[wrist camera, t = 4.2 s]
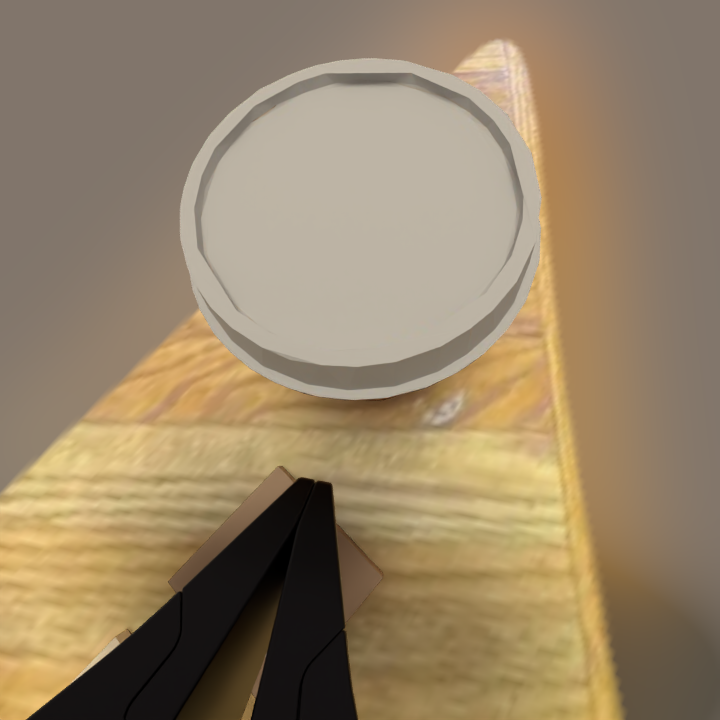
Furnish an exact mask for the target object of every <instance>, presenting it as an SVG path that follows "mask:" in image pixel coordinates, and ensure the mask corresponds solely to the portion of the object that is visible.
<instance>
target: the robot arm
mask: <svg viewBox="0 0 720 720" xmlns="http://www.w3.org/2000/svg"><path fill="white" fill-rule="evenodd" d="M345 628H346V625H345V614H344V603H343V593H342V582H341V571H340V560H339V550H338V539H337V528H336V517H335V506H334V496H333V486H332V484H331V483H329V482H324V481H316V482H315V480H313V479H308V478H303V477H300V478H298V479H297V480H296V481H295V482H294V483H293V484H292V485H291V486H290V487H288V488H287V489H286V490H285V491H284V492H283V493H282V494H281V495H280V496H279V497H278V498H277V499H276V500H275V501H274V502H273V503H272V504H271V505H269V506H268V507H267V508H266V509H265V510H264V511H263V512H262V513H261V514H260V515H259V516H258V517H257V518H256V519H255V520H254V521H253V522H251V523H250V524H249V525H248V526H247V527H246V528H245V529H244V530H243V531H242V532H241V533H240V534H239V535H238V536H237V537H236V538H235V539H234V540H232V541H231V542H230V543H229V544H228V545H227V546H226V547H225V548H224V549H223V550H222V551H221V552H220V553H219V554H218V555H217V556H216V557H214V558H213V559H212V560H211V561H210V562H209V563H208V564H207V565H206V566H205V567H204V568H203V569H202V570H201V571H200V572H199V573H198V574H196V575H195V576H194V577H193V578H192V579H191V580H190V581H189V582H188V583H187V584H186V585H185V586H184V587H183V588H182V591H178V592H177V593H176V594H175V595H174V596H173V597H172V598H171V599H170V600H169V601H168V602H167V603H166V604H165V605H164V606H163V607H161V608H160V609H159V610H158V611H157V612H156V613H155V614H154V615H153V616H151V617H150V618H149V619H148V620H147V621H146V622H145V623H144V624H143V625H142V626H140V627H139V628H138V629H137V630H136V631H135V632H134V633H132V634H131V635H130V636H129V637H128V638H126V639H125V640H124V641H123V642H122V643H120V644H119V645H118V646H117V647H116V648H114V649H113V650H112V651H111V652H109V653H108V654H107V655H106V656H105V657H103V658H102V659H101V660H100V661H98V662H97V663H96V664H95V665H93V666H92V667H91V668H90V669H88V670H87V671H86V672H85V673H83V674H82V675H81V676H80V677H79V678H77V679H76V680H75V681H74V682H72V683H71V684H70V685H69V686H67V687H66V688H65V689H64V690H62V691H61V692H60V693H59V694H57V695H56V696H55V697H54V698H52V699H51V700H50V701H49V702H47V703H46V704H45V705H44V706H42V707H41V708H40V709H39V710H37V711H36V712H35V713H34V714H32V715H31V716H30V717H29V718H27V719H26V720H241V718H242V715H243V713H244V710H245V708H246V705H247V702H248V700H249V697H250V695H251V692H252V690H253V687H254V684H255V682H256V679H257V677H258V674H259V671H260V669H261V666H262V664H263V661H264V658H265V656H266V658H265V663H264V667H263V671H262V675H261V679H260V683H259V688H258V692H257V696H256V700H255V704H254V709H253V713H252V717H251V720H358V716H357V710H356V704H355V699H354V693H353V687H352V680H351V671H350V663H349V655H348V645H347V634H346V631H345ZM266 653H267V654H266Z"/></svg>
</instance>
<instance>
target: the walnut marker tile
mask: <svg viewBox="0 0 720 720" xmlns="http://www.w3.org/2000/svg"><path fill="white" fill-rule="evenodd" d="M295 481H296V480H295V479H294V478H293V477H292V476H291V475H290V474H289V473H288V472H287V471H286V470H285V469H284V468H283V467H282V466H278V467H277V468H276V469H275V470H274V471H273V472H272V473H271V474H270V475H269V476H268V477H267V478H266V479H265V480H264V482H263V483H262V484H261V485H260V486H259V487H258V488H257V489H256V490H255V491H254V492H253V493H252V494H251V495H250V496H249V497H248V498H247V499H246V500H245V501H244V502H243V503H242V505H241V506H240V507H239V508H238V509H237V510H236V511H235V512H234V513H233V514H232V515H231V516H230V517H229V518H228V519H227V520H226V521H225V522H224V523H223V524H222V525H221V527H220V528H219V529H218V530H217V531H216V532H215V533H214V534H213V535H212V536H211V537H210V538H209V539H208V540H207V541H206V542H205V543H204V544H203V545H202V546H201V547H200V549H199V550H198V551H197V552H196V553H195V554H194V555H193V556H192V557H191V558H190V559H189V560H188V561H187V562H186V563H185V564H184V565H183V566H182V567H181V568H180V569H179V571H178V572H177V573H176V574H175V575H174V576H173V577H172V578H171V579H170V580H169V581H168V583H169V584H170V585H171V587H172V588H173V589H174V591H175V592H176V593H177V592H178V591H182V588H183V587H184V586H185V585H186V584H187V583H188V582H189V581H190V580H191V579H192V578H193V577H194V576H195V575H196V574H198V573H199V572H200V571H201V570H202V569H203V568H204V567H205V566H206V565H207V564H208V563H209V562H210V561H211V560H212V559H213V558H214V557H216V556H217V555H218V554H219V553H220V552H221V551H222V550H223V549H224V548H225V547H226V546H227V545H228V544H229V543H230V542H231V541H232V540H234V539H235V538H236V537H237V536H238V535H239V534H240V533H241V532H242V531H243V530H244V529H245V528H246V527H247V526H248V525H249V524H250V523H251V522H253V521H254V520H255V519H256V518H257V517H258V516H259V515H260V514H261V513H262V512H263V511H264V510H265V509H266V508H267V507H268V506H269V505H271V504H272V503H273V502H274V501H275V500H276V499H277V498H278V497H279V496H280V495H281V494H282V493H283V492H284V491H285V490H286V489H287V488H288V487H290V486H291V485H292V484H293V483H294V482H295ZM336 528H337V539H338V550H339V560H340V571H341V582H342V593H343V603H344V614H345V623H346V622H347V621H348V620H349V618H350V617H351V616H352V615H353V614H354V612H355V611H356V610H357V609H358V608H359V606H360V605H361V604H362V603H363V601H364V600H365V599H366V598H367V597H368V595H369V594H370V593H371V592H372V591H373V589H374V588H375V587H376V586H377V585H378V583H379V582H380V581H381V580H382V578H383V572H382V571H381V570H380V569H379V568H378V567H377V566H376V565H375V564H374V563H373V562H372V561H371V560H370V559H369V558H368V557H367V556H366V554H365V553H364V552H363V551H362V550H361V549H360V548H359V547H358V546H357V545H356V544H355V543H354V542H353V541H352V540H351V539H350V538H349V536H348V535H347V534H346V533H345V532H344V531H343V530H342V529H341V528H340V527H339V526H338V525H337V524H336ZM266 654H267V653H266ZM265 658H266V656H265ZM265 658H264V661H263V664H262V666H261V669H260V671H259V674H258V677H257V679H256V682H255V684H254V687H253V690H252V692H251V693H252V694H253V695H254V697H255V698H256V696H257V692H258V688H259V683H260V679H261V675H262V671H263V667H264V663H265Z"/></svg>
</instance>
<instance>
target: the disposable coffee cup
mask: <svg viewBox="0 0 720 720" xmlns="http://www.w3.org/2000/svg"><path fill="white" fill-rule="evenodd" d="M540 204H541V193H540V189H539V184H538V180H537V176H536V171H535V167H534V162H533V158H532V153H531V151H530V150H529V148H528V146H527V145H526V143H525V142H524V140H523V138H522V137H521V135H520V134H519V132H518V131H517V129H516V127H515V126H514V124H513V123H512V121H511V120H510V118H509V116H508V115H507V114H506V113H505V112H504V111H503V110H502V109H501V108H499V107H498V106H497V105H496V104H495V103H494V102H492V101H491V100H490V99H489V98H488V97H487V96H486V95H484V94H483V93H482V92H481V91H480V90H478V89H477V88H475V87H473V86H471V85H469V84H468V83H466V82H464V81H462V80H461V79H459V78H457V77H455V76H453V75H451V74H447V73H444V72H441V71H437V70H434V69H430V68H427V67H424V66H421V65H417V64H414V63H410V62H407V61H403V60H389V59H374V58H365V59H354V60H341V61H335V62H330V63H326V64H321V65H316V66H312V67H309V68H307V69H304V70H301V71H299V72H295V73H293V74H290V75H288V76H286V77H284V78H282V79H280V80H278V81H276V82H274V83H272V84H270V85H268V86H266V87H264V88H261V89H259V90H258V91H257V92H256V93H254V94H253V95H252V96H251V97H249V98H248V99H247V100H245V101H244V102H243V103H242V104H241V105H239V106H238V107H237V108H235V109H234V110H233V111H231V112H230V113H229V114H228V115H227V116H226V118H225V119H224V120H223V121H222V122H221V123H220V124H219V125H218V126H217V127H216V129H215V130H214V131H213V132H212V133H211V134H210V135H209V137H208V138H207V140H206V142H205V143H204V145H203V147H202V149H201V150H200V152H199V154H198V156H197V157H196V159H195V160H194V162H193V164H192V167H191V169H190V172H189V175H188V178H187V181H186V183H185V187H184V189H183V195H182V200H181V205H180V239H181V243H182V247H183V252H184V255H185V259H186V264H187V267H188V269H189V273H190V278H191V284H192V289H193V292H194V294H195V297H196V300H197V303H198V305H199V308H200V311H201V312H202V314H203V316H204V317H205V319H206V321H207V322H208V324H209V326H210V328H211V329H212V331H213V333H214V334H215V335H216V336H217V338H218V339H219V340H220V341H221V342H222V343H223V344H224V345H225V346H226V348H227V349H228V350H229V351H230V352H231V353H232V354H233V355H235V356H236V357H237V358H238V359H239V360H241V361H242V362H243V363H244V364H246V365H247V366H248V367H249V368H250V369H252V370H254V371H255V372H257V373H259V374H261V375H262V376H264V377H266V378H268V379H270V380H271V381H273V382H275V383H278V384H280V385H282V386H285V387H287V388H290V389H293V390H296V391H299V392H302V393H305V394H308V395H313V396H318V397H325V398H332V399H340V400H370V401H376V400H385V399H388V398H392V397H395V396H397V395H400V394H404V393H409V392H413V391H417V390H421V389H425V388H427V387H429V386H431V385H433V384H435V383H437V382H439V381H441V380H443V379H445V378H447V377H449V376H451V375H453V374H455V373H457V372H459V371H460V370H462V369H463V368H465V367H466V366H468V365H469V364H471V363H472V362H474V361H475V360H476V359H478V358H479V357H480V356H482V355H483V354H484V353H485V352H486V351H487V350H488V349H489V348H490V347H491V346H492V345H493V344H494V343H495V342H496V341H497V340H498V339H499V338H500V337H501V335H502V334H503V333H504V332H505V331H506V330H507V329H508V328H509V326H510V324H511V323H512V321H513V320H514V318H515V317H516V315H517V314H518V312H519V311H520V309H521V308H522V306H523V305H524V303H525V302H526V299H527V296H528V293H529V290H530V287H531V284H532V281H533V278H534V275H535V272H536V269H537V266H538V263H539V255H540V233H541V227H540V221H539V212H540Z"/></svg>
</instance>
